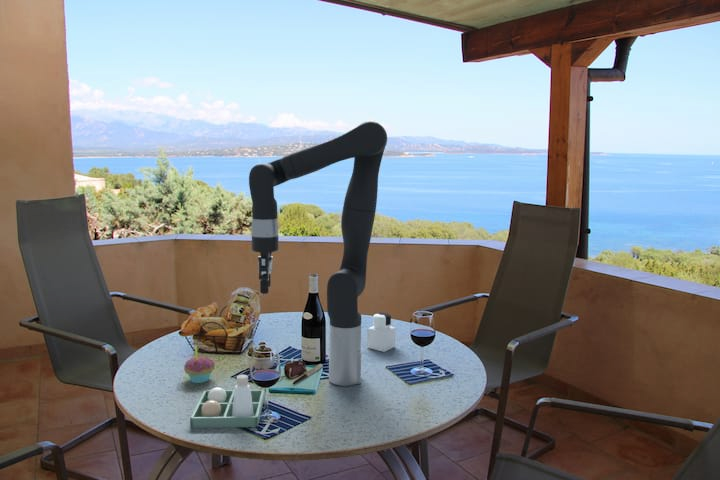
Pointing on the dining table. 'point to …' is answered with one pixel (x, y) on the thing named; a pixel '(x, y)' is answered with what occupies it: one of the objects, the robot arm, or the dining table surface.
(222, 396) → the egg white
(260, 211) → the robot arm
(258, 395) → the egg tray
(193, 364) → the cupcake
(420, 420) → the dining table surface
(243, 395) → the salt shaker
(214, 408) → the egg brown
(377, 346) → the medicine bottle
